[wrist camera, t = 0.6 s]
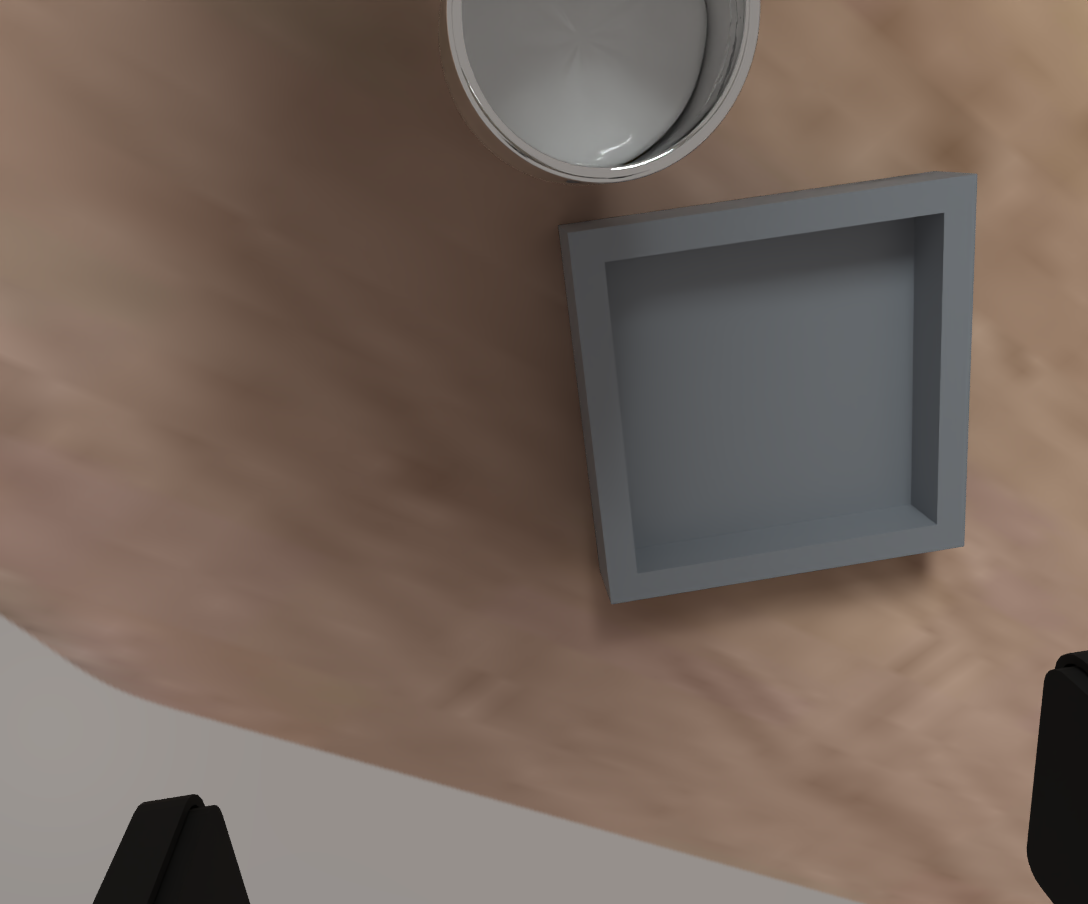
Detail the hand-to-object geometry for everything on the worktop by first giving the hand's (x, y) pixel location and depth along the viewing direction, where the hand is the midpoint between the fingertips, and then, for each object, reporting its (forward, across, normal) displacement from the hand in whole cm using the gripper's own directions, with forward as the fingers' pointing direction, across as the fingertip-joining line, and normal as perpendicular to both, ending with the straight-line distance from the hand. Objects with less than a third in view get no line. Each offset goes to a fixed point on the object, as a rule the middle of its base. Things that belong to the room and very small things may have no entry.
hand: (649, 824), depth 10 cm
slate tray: (+27, -10, +4) cm, 29 cm away
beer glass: (+27, -2, -9) cm, 29 cm away
